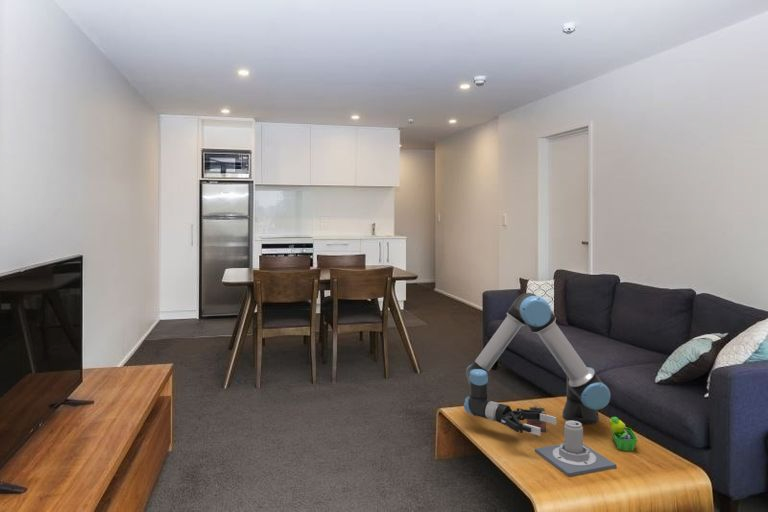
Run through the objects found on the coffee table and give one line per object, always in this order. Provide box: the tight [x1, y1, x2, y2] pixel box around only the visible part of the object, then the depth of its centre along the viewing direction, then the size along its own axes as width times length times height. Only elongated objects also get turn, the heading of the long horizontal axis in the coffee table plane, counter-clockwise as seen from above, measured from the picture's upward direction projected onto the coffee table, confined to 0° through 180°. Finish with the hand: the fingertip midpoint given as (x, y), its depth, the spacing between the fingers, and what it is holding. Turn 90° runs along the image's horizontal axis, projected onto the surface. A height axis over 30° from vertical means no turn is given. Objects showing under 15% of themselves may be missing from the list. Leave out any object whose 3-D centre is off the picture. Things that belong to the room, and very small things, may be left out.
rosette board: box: [534, 442, 617, 477], centre depth 178 cm, size 20×20×4 cm
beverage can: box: [563, 420, 584, 454], centre depth 178 cm, size 6×6×12 cm
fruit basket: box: [609, 416, 638, 452], centre depth 189 cm, size 11×9×11 cm
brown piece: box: [526, 405, 547, 433], centre depth 205 cm, size 8×3×10 cm, turn 68°
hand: (548, 426), depth 185 cm, fingers open, 13 cm apart
